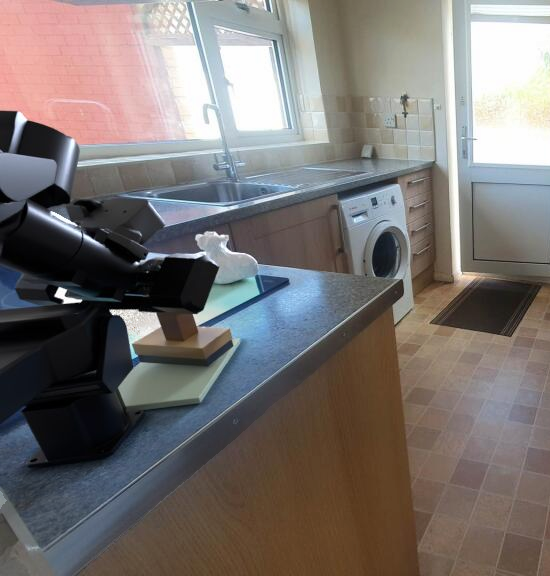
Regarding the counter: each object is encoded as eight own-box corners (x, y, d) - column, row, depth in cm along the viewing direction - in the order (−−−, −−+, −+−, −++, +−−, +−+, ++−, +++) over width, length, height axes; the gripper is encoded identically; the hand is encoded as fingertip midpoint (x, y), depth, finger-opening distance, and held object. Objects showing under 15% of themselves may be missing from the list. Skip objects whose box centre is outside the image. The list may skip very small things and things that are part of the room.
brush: (208, 367, 51) (176, 270, 46) (138, 363, 51) (99, 266, 46) (235, 345, 55) (209, 255, 50) (171, 342, 56) (138, 252, 50)
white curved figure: (197, 290, 80) (157, 259, 70) (212, 258, 84) (175, 224, 74) (260, 292, 81) (228, 261, 71) (271, 260, 84) (242, 226, 75)
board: (200, 403, 47) (198, 397, 46) (93, 416, 44) (90, 410, 44) (240, 342, 59) (239, 337, 59) (159, 349, 57) (157, 344, 56)
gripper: (181, 179, 40) (270, 253, 54) (0, 171, 41) (135, 246, 55) (134, 284, 36) (244, 334, 50) (-68, 273, 36) (98, 325, 51)
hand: (180, 306), depth 52 cm, fingers closed on brush, 2 cm apart
